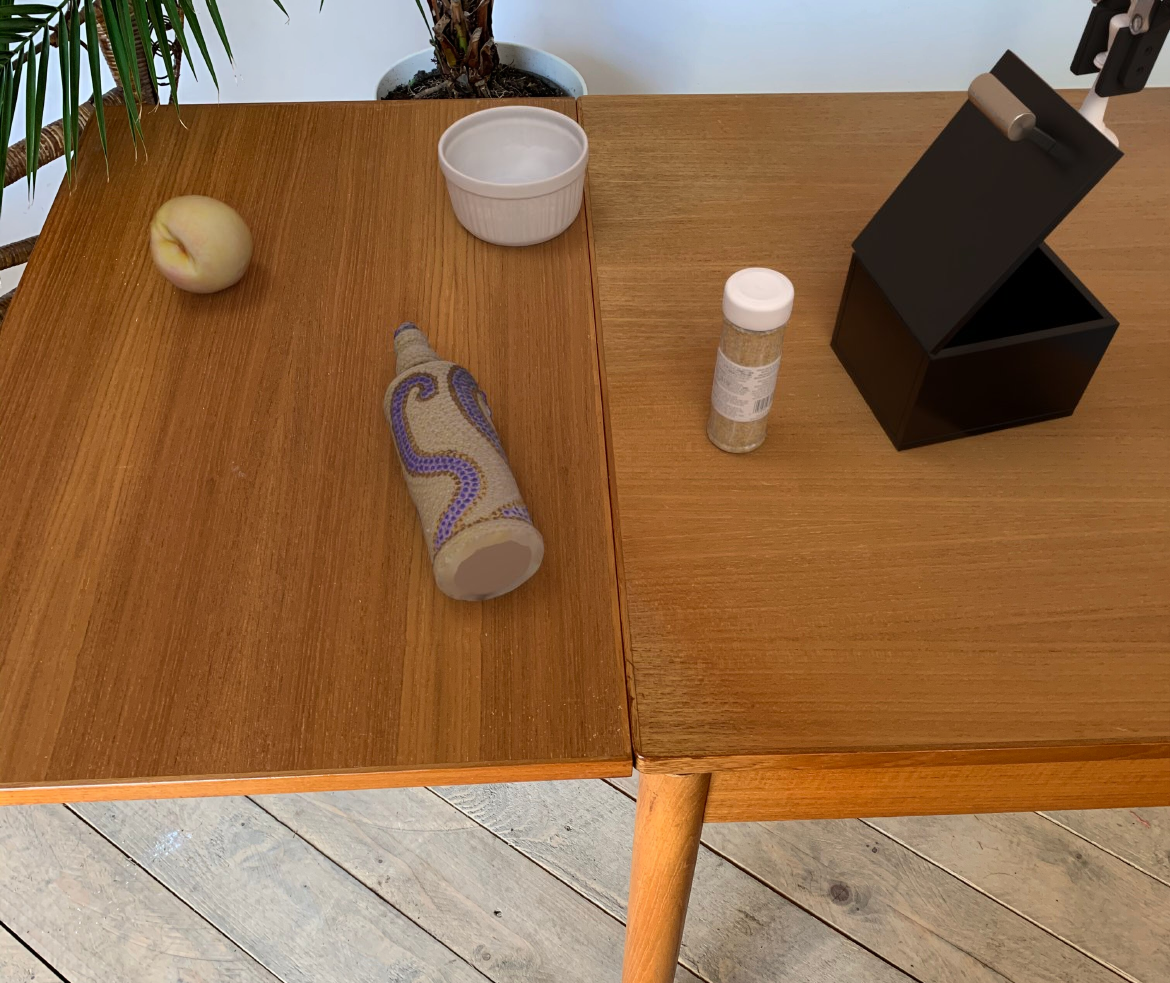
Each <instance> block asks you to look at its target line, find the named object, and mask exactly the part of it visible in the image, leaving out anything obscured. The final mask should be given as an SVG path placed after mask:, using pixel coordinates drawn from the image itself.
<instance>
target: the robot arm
mask: <svg viewBox="0 0 1170 983" xmlns="http://www.w3.org/2000/svg"><path fill="white" fill-rule="evenodd" d="M1090 1H1091V2H1092V3H1093V4H1094V6H1092V9H1091V11H1090V13H1089V16H1088V19H1087V21H1086V24H1085V26H1084V29H1083V31H1082V35H1081V37H1080V39H1079V42H1078V45H1077V48H1076V50H1075V53H1074V55H1073V58H1072V60H1071V63H1070V66H1069V71H1070V73H1071V74H1073V75H1074V76H1076V77H1077V76H1078V77H1079V76H1085V75H1092V74H1099V72H1100V70H1101V69H1100V68H1098V67H1097V66H1096V65H1095V64H1094V59H1095V57H1096V56H1097V55H1098V54H1099V53H1102V52H1107V51H1108V40H1109V27H1110V21H1111V19H1112V18H1113V17H1114V16H1116V15H1118V14H1127V13H1128V11H1129V8H1130V6H1131V0H1090ZM1169 33H1170V0H1138V1H1137V4H1136V6H1135V9H1134V11H1133V14H1132V16H1131V19H1130V22H1129V26H1128V27H1121V28H1119V30H1118V32H1117V33H1116V36H1115V38H1114V41H1113V43H1112V46H1111V48H1110V51H1109V53H1108V56H1107V58H1106V61H1105V63H1104V66H1103V68H1102V71H1101V73H1100V76H1099V78H1098V81H1097V83H1096V86H1095V93H1096V94H1097V95H1098V96H1099V97H1101V98H1104V97H1109V98H1111V97H1116V96H1124V95H1129V94H1131V95H1132V94H1136V93H1137V94H1138V93H1141V91H1142V90H1143V89H1144V88H1145V87H1146V85H1147V82H1148V80H1149V78H1150V76H1151V74H1152V71H1153V69H1154V67H1155V64H1156V62H1157V60H1158V58H1159V55H1160V53H1161V51H1162V49H1163V46H1164V44H1165V42H1166V40H1167V37H1168V35H1169Z"/></svg>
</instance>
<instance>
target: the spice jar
mask: <svg viewBox="0 0 1170 983" xmlns="http://www.w3.org/2000/svg"><path fill="white" fill-rule="evenodd" d="M794 300H795V288H794V285H793V283H792V281H791V280H790V279H789V278H788V277H787V276H786V275H784V274H783V273H781V272H779V271H778V270H775V269H771V268H767V267H758V266H757V267H756V266H755V267H747V268H743V269H740V270H738V271H736V272H734V273H732V274H731V275H730V276H729V278H728V279H727V280H726V282H725V284H724V289H723V295H722V303H721V309H722V310H721V311H722V314H723V315H722V316H723V317H722V324H721V332H720V338H719V345H718V349H717V355H716V363H715V368H714V374H713V382H712V389H711V406H710V413H709V419H708V420H707V424H706V434H707V436H708V438H709V441H710V442H711V443H713V444H714V445H715V446H716V447H717V448H718V449H720V450H722V451H725V452H728V453H732V454H733V453H734V454H743V453H744V454H745V453H749V452H752V451H754V450H756V449H758V448H759V447H761V446H762V444H764V441H765V440H766V436H767V424H768V418H769V414H770V411H771V408H772V406H773V405H772V404H773V399H774V395H775V390H776V386H777V385H776V384H777V379H778V374H779V370H780V365H781V360H782V355H783V344H784V338H785V332H786V328H787V324H788V322H789V320H790V318H791V315H792V311H793V307H794V306H793V305H794Z"/></svg>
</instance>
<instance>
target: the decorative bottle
mask: <svg viewBox="0 0 1170 983" xmlns="http://www.w3.org/2000/svg"><path fill="white" fill-rule="evenodd" d="M393 340H394V341H393V353H394V355H395V358H396V363H395V364H396V365H395V366H396V367H395V373H396V377H395V378H394V379H393V380H392V381H391V382H390V384H389V386H388V387H387V390H386V391H385V395H384V398H383V402H382V403H383V404H382V406H383V407H382V409H383V413H384V416H385V421H386V423H387V425H388V427H389V432H390V435H391V438H392V440H393V444H394V448H395V451H396V454H397V458H398V460H399V463H400V466H401V470H402V474H403V478H404V480H405V483H406V485H407V487H408V488H407V489H408V494H409V496H410V498H411V500H412V501H413V505H414V507H415V511H416V515H417V519H418V521H419V524H420V528H421V531H422V535H423V538H424V541H425V543H426V546H427V550H428V555H429V559H430V564H431V566H432V574H433V578H434V579H435V580H434V581H435V583H436V586H437V587H438V589H439V590H440V591H441V592H442V594H445V595H446V596H447V597H449V598H451V599H453V600H457V601H460V600H462V601H466V602H481V601H483V602H484V601H488V600H491V599H494V598H498V597H500V596H503V595H505V594H508V593H509V592H512V591H514V590H516V589H517V588H518V587H520V586H521V585H522V584H524V583H525V582H527V581H528V580H529V579H531V577H533V575H534V574H536V572H537V571H538V570H539V569H540V567H541V565H542V562H543V560H544V559H543V557H544V553H545V542H544V539H543V538H544V537H543V535H542V534H541V533H540V532H539V530H537V529H536V527H535V525H534V523H533V520H532V517H531V515H530V513H529V510H528V507H527V505H526V504H525V501H524V499H523V496H522V494H521V492H520V489H519V487H518V484H517V482H516V479H515V477H514V474H513V471H512V469H511V466H510V464H509V461H508V458H507V455H506V452H505V450H504V449H503V447H502V443H501V439H500V437H499V434H498V432H497V430H496V427H495V425H494V424H493V420H492V416H493V414H492V410H491V407H490V406H489V405H488V401H487V394H485V392H484V391H483V390H480V388H479V383H478V382H476V379H475V377H474V376H473V375H472V374H471V373H470V371H469V370H468V369H467V368H465V367H464V366H461V365H460V364H457V363H455V362H452V361H448V360H442V358H441V356H440V355H439V354H438V353H437V352H436V351H435V350H433V349H432V347H431V344H430V342H429V339H428V338H427V336H426V335H425V333H424V332H422V331H421V330H420V329H419V328H418V326H417V325H416V324H415V323H414V322H412V321H407V322H403V323H401V325H400V326H399V327H398V329H396V330H395V331H394V335H393Z"/></svg>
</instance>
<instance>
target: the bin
mask: <svg viewBox="0 0 1170 983" xmlns="http://www.w3.org/2000/svg"><path fill="white" fill-rule="evenodd" d="M1120 325H1121V323H1120V321H1119V320H1118V319H1117V318H1116V317H1115V316H1114V315H1113V314H1112V313H1111V312H1110V310H1108V309H1107V308H1106V306H1104V304H1103V303H1102V302H1101V301H1100V300H1099V298H1097V297H1096V295H1095V294H1093V292H1092V291H1091V290H1090V289H1089V288H1088V287H1087V286H1086V284H1084V283H1083V281H1081V279H1080V278H1079V277H1078V276H1077V275H1076V274H1075V272H1073V271H1072V270H1071V269H1070V267H1069V266H1068V265H1067V264H1066V263H1065V262H1064V261H1063V260H1062V258H1060V257H1059V255H1058V254H1057V253H1056V252H1055V251H1054V250H1053V249H1052V248H1051V247H1050V245H1049V244H1048V243H1046V241H1045V240H1044V241H1043V242H1042V243H1041V244H1040V245H1039V246H1038V247H1037V248H1036V249H1035V250H1034V252H1033V253H1032V254H1031V255H1030V256H1029V257H1028V258H1027V259H1026V260H1025V261H1024V262H1023V263H1022V264H1021V265H1020V266H1019V267H1018V269H1017V270H1016V271H1015V272H1014V273H1013V274H1012V275H1011V276H1010V277H1009V278H1008V279H1007V280H1006V281H1005V282H1004V283H1003V285H1002V286H1001V287H1000V288H999V289H998V290H997V291H996V292H995V293H994V294H993V295H992V296H991V297H990V298H989V299H988V301H987V302H986V303H985V304H984V305H983V306H982V307H981V308H980V309H979V310H978V311H977V312H976V313H975V314H974V315H973V316H972V318H971V319H970V320H969V321H968V322H967V323H966V324H965V325H964V326H963V327H962V328H961V329H960V330H959V331H958V332H957V334H956V335H955V336H954V337H953V338H952V339H951V340H950V341H949V342H948V343H947V344H946V345H945V346H944V347H943V348H942V350H941V351H940V352H939V353H938V354H937V355H936V356H935V355H933V354H930V353H928V351H927V350H926V349H925V347H924V346H923V345H922V343H921V342H920V340H919V339H918V338H917V336H916V335H915V333H914V332H913V331H912V329H911V328H910V327H909V325H908V324H907V322H906V321H905V320H904V318H903V317H902V316H901V314H900V313H899V311H898V310H897V309H896V307H895V306H894V304H893V303H892V302H891V300H890V299H889V298H888V296H887V295H886V293H885V292H884V291H883V289H882V288H881V286H880V285H879V284H878V282H877V281H876V280H875V278H874V277H873V275H872V274H871V273H870V271H869V270H868V268H867V267H866V266H865V264H864V263H863V262H862V260H861V259H860V257H859V256H858V255H857V253H856V252H855V251H853V252H852V253H851V257H850V261H849V265H848V270H847V274H846V278H845V281H844V285H843V290H842V293H841V298H840V302H839V307H838V311H837V314H836V318H835V323H834V327H833V331H832V335H831V339H830V344H829V346H830V347H831V349H832V351H833V352H834V353H835V355H836V357H837V358H838V360H839V362H840V363H841V365H842V366H843V368H844V370H845V371H846V373H847V374H848V376H849V377H850V379H851V380H852V382H853V383H854V386H855V387H856V388H857V390H858V392H859V393H860V395H861V396H862V398H863V399H864V401H865V402H866V404H867V405H868V407H869V409H870V410H871V412H872V413H873V415H874V417H875V418H876V419H877V421H878V423H879V424H880V426H881V427H882V429H883V431H884V432H885V434H886V435H887V437H888V438H889V440H890V441H891V443H892V445H893V446H894V448H895V449H896V451H897V452H904V451H909V450H914V449H917V448H923V447H927V446H932V445H937V444H941V443H946V442H952V441H956V440H961V439H966V438H971V437H977V436H980V435H986V434H990V433H995V432H999V431H1000V432H1001V431H1005V430H1010V429H1013V428H1020V427H1024V426H1025V427H1026V426H1029V425H1034V424H1039V423H1044V422H1048V421H1049V422H1050V421H1052V420H1057V419H1062V418H1068V417H1073V415H1074V412H1075V411H1076V409H1077V407H1078V405H1079V403H1080V401H1081V399H1082V397H1083V395H1084V393H1085V392H1086V390H1087V389H1088V386H1089V384H1090V382H1091V380H1092V379H1093V377H1094V375H1095V372H1096V371H1097V369H1098V367H1099V365H1100V363H1101V361H1102V360H1103V357H1104V355H1105V353H1106V352H1107V350H1108V348H1109V346H1110V344H1111V342H1112V340H1113V338H1114V337H1115V335H1116V333H1117V330H1118V329H1119V327H1120Z"/></svg>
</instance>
